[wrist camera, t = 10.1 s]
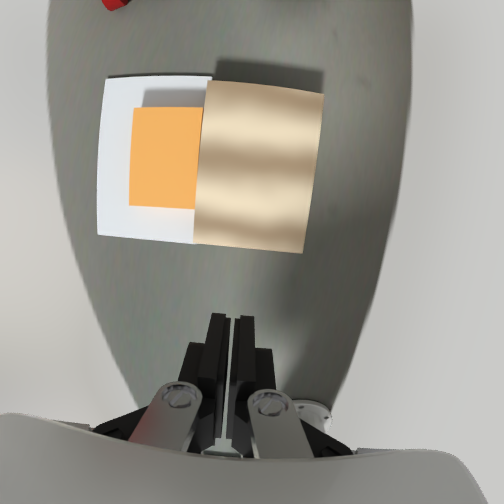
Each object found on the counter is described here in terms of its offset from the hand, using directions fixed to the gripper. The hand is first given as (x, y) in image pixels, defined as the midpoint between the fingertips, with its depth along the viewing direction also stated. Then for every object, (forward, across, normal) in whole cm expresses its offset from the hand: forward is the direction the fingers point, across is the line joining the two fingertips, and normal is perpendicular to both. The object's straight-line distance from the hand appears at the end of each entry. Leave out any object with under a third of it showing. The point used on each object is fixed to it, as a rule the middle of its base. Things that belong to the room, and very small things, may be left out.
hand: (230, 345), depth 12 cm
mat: (+21, +11, -7) cm, 25 cm away
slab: (+21, +8, -7) cm, 24 cm away
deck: (+22, -1, -7) cm, 23 cm away
